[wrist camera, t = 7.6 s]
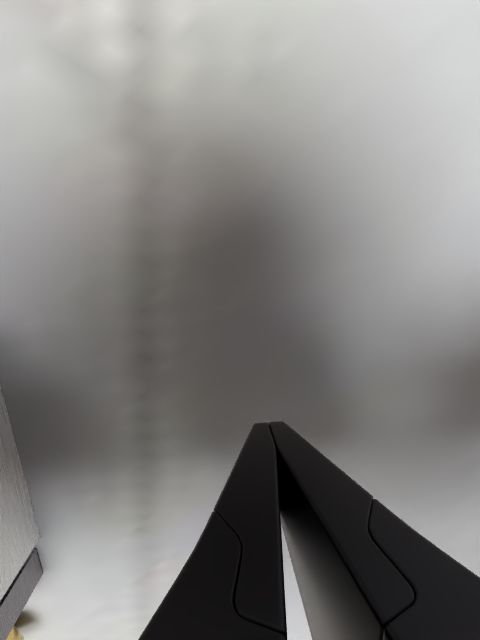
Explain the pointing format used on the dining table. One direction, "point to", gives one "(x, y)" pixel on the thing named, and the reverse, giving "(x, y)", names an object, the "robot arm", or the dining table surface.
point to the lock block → (13, 507)
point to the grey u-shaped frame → (19, 593)
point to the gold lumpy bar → (15, 634)
